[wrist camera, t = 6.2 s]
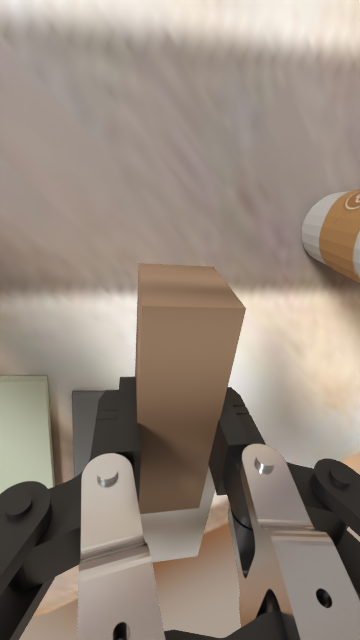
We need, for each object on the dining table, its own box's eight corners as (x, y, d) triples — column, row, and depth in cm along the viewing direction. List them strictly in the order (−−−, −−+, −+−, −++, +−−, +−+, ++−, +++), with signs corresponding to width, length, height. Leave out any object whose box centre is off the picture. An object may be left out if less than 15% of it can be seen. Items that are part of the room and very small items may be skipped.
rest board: (-9, 515, 37) (-12, 523, 36) (-39, 375, 28) (-45, 381, 27) (56, 509, 39) (55, 517, 38) (47, 375, 30) (44, 381, 29)
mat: (75, 488, 38) (75, 493, 37) (72, 391, 31) (71, 394, 31) (186, 481, 41) (186, 485, 40) (204, 390, 34) (205, 394, 34)
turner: (85, 260, 9) (65, 304, 6) (259, 269, 10) (307, 309, 7) (102, 549, 18) (98, 619, 15) (194, 538, 19) (204, 601, 17)
